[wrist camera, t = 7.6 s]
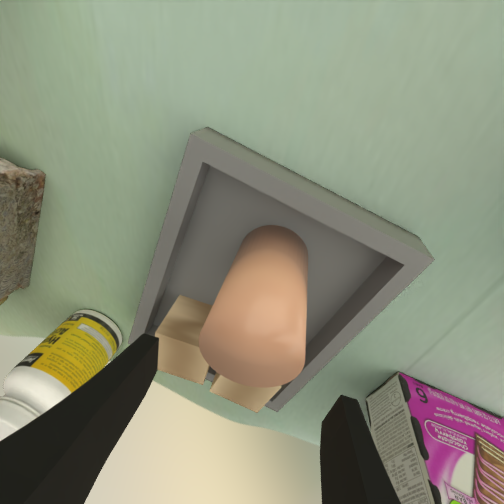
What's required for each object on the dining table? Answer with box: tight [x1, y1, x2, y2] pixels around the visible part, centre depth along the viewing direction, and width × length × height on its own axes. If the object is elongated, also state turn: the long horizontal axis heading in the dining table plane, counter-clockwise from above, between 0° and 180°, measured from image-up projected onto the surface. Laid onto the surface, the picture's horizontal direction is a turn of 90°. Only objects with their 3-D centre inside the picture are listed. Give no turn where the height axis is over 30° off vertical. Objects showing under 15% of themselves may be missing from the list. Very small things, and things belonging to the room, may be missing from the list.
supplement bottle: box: [0, 310, 122, 441], centre depth 23 cm, size 5×5×10 cm
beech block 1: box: [155, 295, 212, 385], centre depth 21 cm, size 4×4×4 cm
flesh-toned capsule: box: [199, 225, 308, 388], centre depth 15 cm, size 5×5×8 cm
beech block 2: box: [210, 372, 282, 413], centre depth 22 cm, size 4×4×4 cm
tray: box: [128, 127, 435, 412], centre depth 20 cm, size 14×18×3 cm
